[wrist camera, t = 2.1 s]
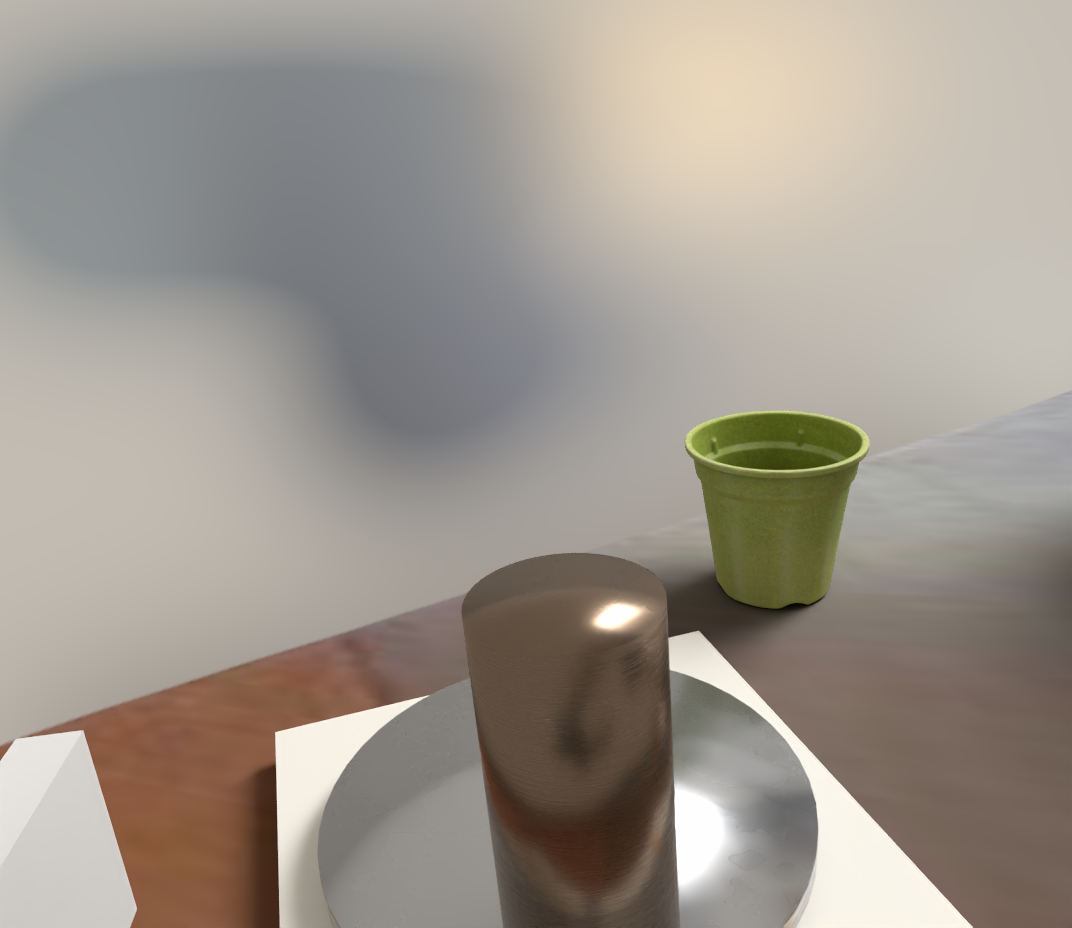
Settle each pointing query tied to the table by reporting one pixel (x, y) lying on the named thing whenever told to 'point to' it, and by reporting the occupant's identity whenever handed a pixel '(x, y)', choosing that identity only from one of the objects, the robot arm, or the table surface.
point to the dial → (571, 778)
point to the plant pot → (775, 500)
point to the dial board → (843, 825)
